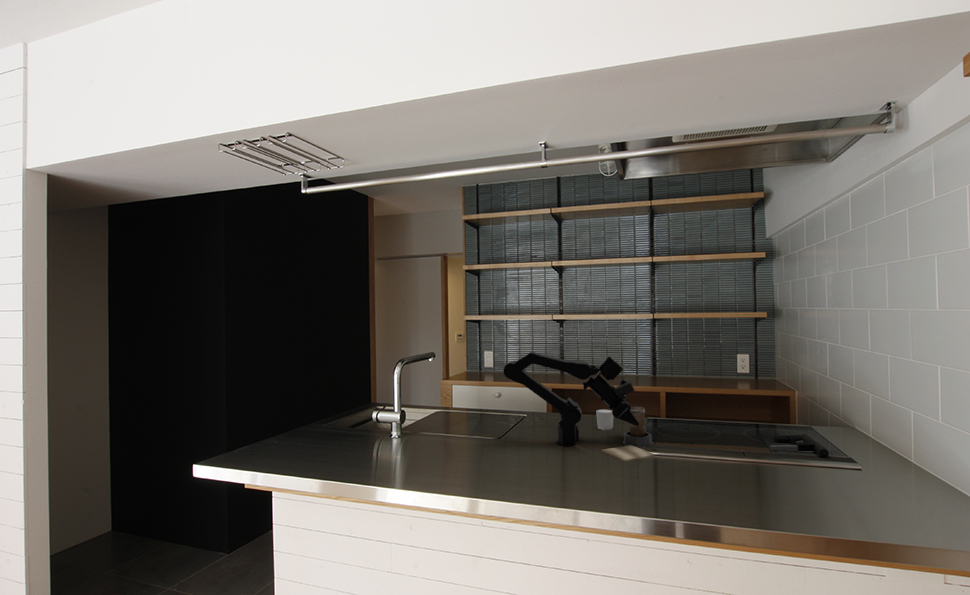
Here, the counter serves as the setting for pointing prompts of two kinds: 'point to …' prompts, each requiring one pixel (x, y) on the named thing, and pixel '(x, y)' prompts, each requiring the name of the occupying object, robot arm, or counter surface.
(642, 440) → the cup
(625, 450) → the beige cloth napkin
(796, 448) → the door handle
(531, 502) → the counter surface
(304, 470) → the counter surface
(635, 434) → the tapered cup
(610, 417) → the shot glass
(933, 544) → the counter surface
